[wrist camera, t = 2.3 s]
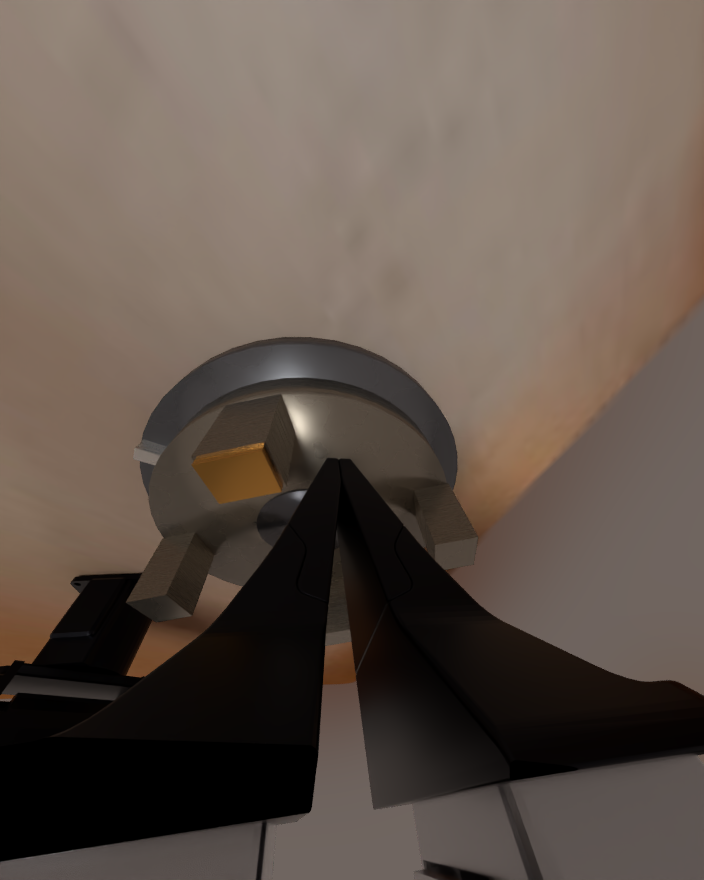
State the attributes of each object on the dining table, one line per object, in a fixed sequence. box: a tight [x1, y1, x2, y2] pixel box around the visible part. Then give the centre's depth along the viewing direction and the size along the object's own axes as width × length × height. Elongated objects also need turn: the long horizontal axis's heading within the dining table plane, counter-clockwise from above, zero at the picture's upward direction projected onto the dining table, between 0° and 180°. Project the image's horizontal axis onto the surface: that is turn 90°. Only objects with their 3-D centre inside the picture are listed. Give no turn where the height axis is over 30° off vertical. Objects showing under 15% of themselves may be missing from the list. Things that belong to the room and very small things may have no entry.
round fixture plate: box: [126, 378, 478, 646], centre depth 15 cm, size 17×17×6 cm
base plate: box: [133, 337, 457, 496], centre depth 18 cm, size 20×20×2 cm
